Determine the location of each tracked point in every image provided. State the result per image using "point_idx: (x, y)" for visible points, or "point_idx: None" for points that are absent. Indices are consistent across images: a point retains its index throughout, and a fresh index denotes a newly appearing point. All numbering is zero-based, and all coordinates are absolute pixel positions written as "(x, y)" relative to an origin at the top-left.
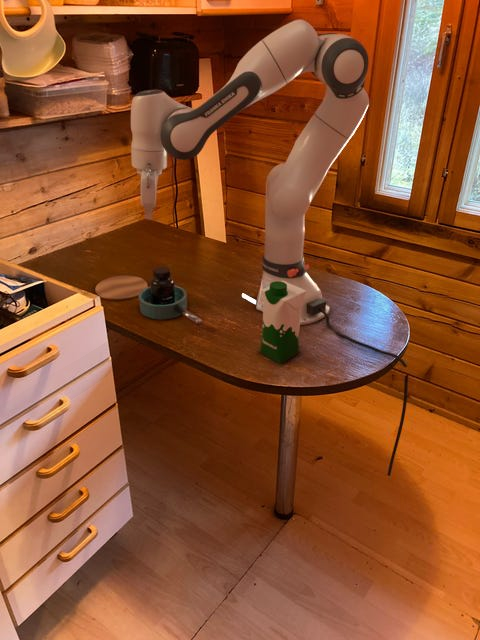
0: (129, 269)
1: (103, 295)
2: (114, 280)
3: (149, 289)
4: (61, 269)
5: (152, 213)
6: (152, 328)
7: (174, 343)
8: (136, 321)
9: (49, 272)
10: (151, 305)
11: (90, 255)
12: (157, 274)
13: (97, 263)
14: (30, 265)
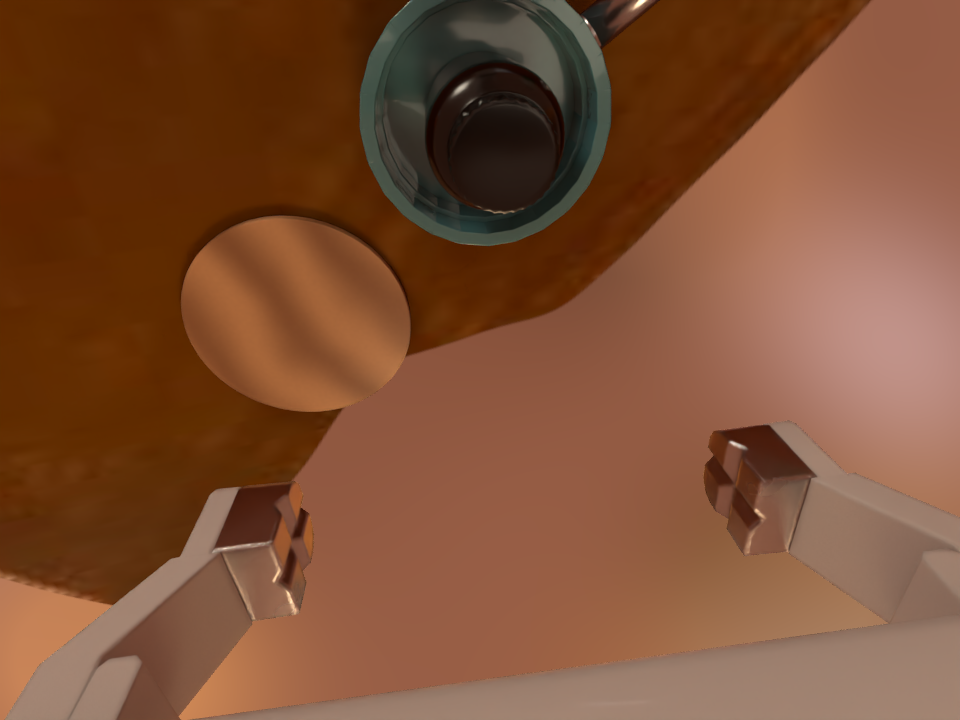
0: (100, 324)
1: (387, 372)
2: (248, 361)
3: (413, 203)
4: (188, 532)
5: (835, 464)
6: (650, 145)
7: (793, 29)
8: (583, 219)
9: None
10: (594, 172)
11: (21, 487)
12: (554, 178)
13: (89, 449)
14: None
